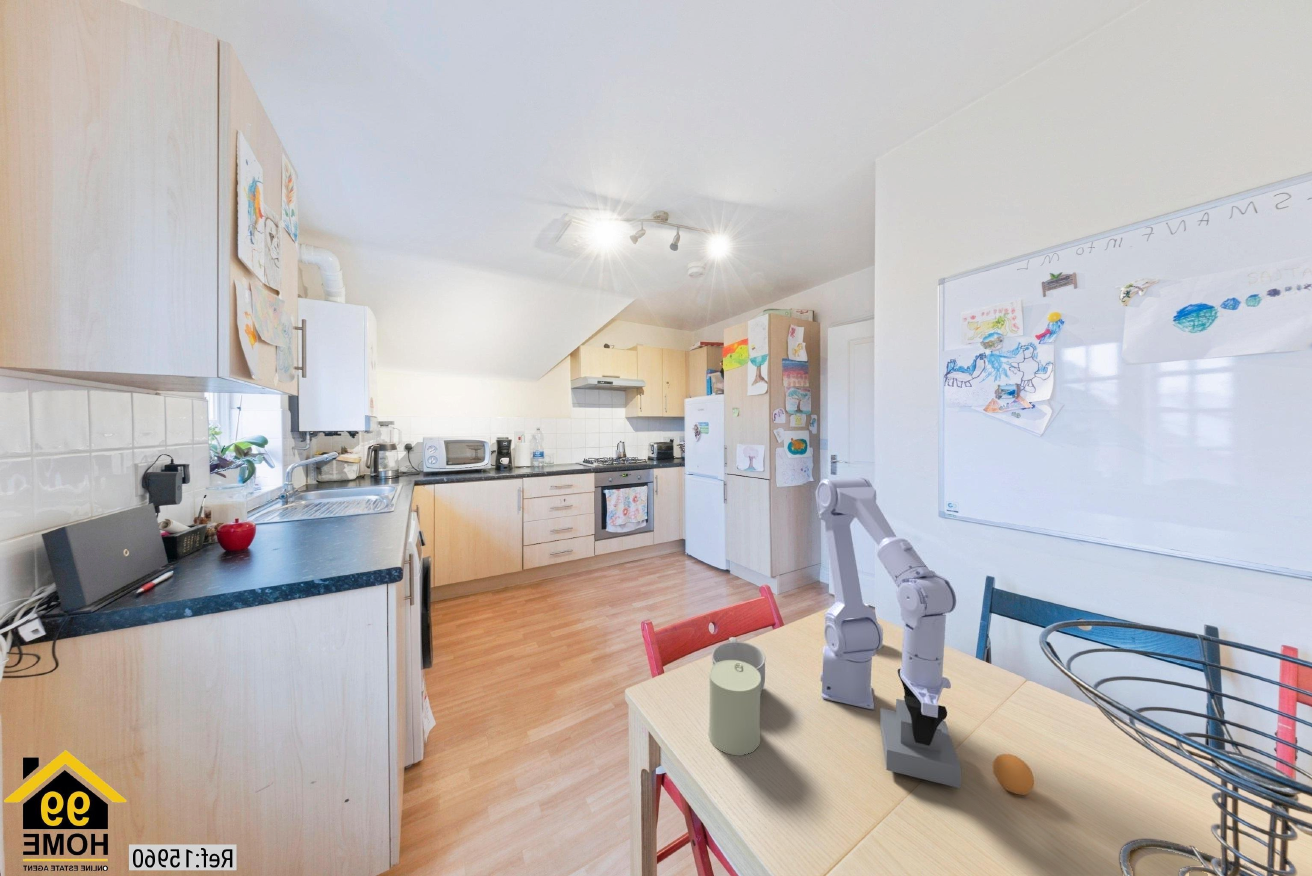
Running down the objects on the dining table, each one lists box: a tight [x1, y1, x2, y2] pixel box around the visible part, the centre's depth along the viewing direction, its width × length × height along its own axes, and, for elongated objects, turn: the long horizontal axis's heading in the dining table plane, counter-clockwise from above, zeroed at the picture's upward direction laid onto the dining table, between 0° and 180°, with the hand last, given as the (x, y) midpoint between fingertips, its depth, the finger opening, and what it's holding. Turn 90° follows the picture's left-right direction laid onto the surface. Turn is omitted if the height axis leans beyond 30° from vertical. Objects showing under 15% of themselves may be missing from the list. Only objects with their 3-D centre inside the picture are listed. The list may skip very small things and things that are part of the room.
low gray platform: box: [879, 698, 962, 789], centre depth 74 cm, size 10×10×7 cm
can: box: [707, 660, 761, 756], centre depth 80 cm, size 9×9×12 cm
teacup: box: [711, 636, 766, 693], centre depth 94 cm, size 14×11×8 cm
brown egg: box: [992, 753, 1035, 795], centre depth 69 cm, size 5×5×5 cm
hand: (918, 729), depth 74 cm, fingers closed on low gray platform, 6 cm apart
